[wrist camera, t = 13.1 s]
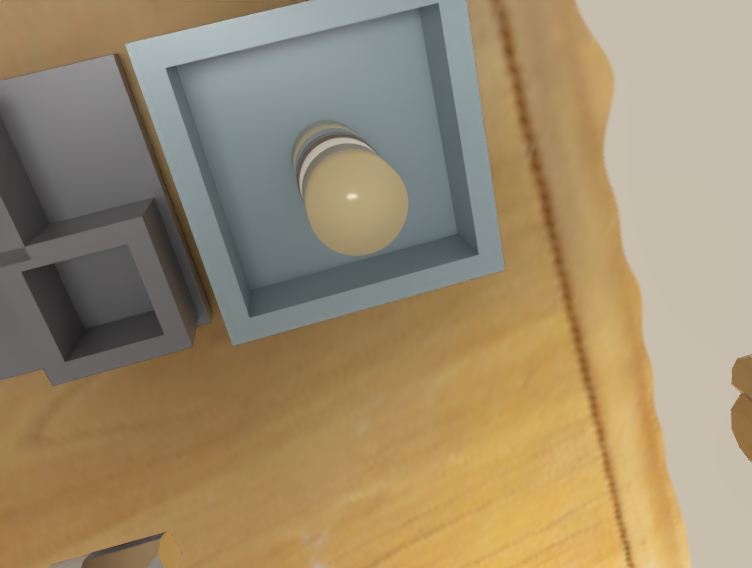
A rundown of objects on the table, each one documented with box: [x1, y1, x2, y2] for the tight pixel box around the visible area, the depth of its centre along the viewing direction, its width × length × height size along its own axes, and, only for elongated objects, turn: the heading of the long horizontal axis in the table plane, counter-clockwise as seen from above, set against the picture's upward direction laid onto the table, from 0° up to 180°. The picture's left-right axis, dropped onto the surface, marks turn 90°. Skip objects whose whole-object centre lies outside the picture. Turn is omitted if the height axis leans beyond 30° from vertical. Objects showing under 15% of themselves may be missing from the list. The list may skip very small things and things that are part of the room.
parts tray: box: [125, 0, 505, 346], centre depth 30 cm, size 14×14×4 cm
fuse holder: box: [0, 54, 212, 386], centre depth 28 cm, size 14×13×4 cm
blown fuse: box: [291, 120, 408, 256], centre depth 26 cm, size 4×4×10 cm
